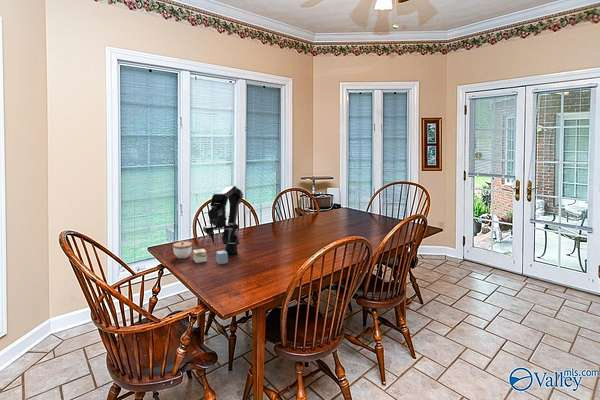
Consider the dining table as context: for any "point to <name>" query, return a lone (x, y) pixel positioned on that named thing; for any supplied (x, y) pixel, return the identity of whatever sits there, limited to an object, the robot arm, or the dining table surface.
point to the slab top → (199, 253)
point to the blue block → (221, 257)
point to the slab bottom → (200, 259)
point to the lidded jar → (182, 249)
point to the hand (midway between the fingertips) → (221, 242)
